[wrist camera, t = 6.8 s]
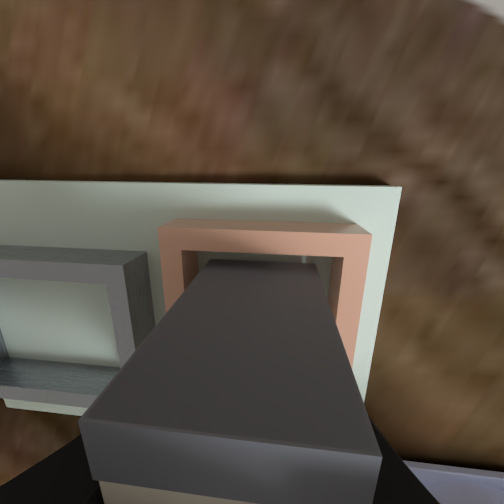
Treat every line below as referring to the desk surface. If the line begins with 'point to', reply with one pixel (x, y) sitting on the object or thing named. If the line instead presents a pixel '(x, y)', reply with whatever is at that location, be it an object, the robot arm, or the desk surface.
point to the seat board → (165, 268)
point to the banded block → (236, 399)
